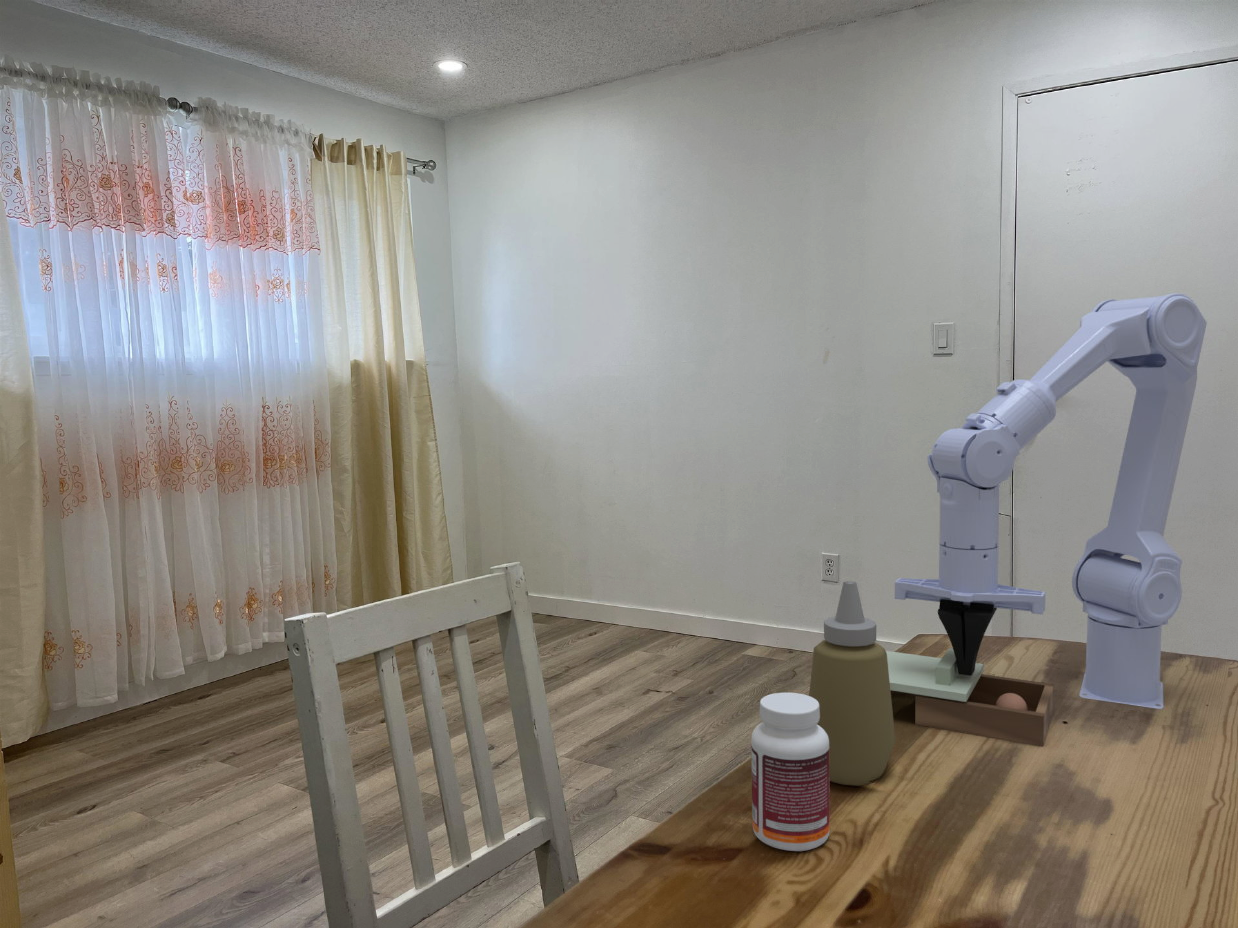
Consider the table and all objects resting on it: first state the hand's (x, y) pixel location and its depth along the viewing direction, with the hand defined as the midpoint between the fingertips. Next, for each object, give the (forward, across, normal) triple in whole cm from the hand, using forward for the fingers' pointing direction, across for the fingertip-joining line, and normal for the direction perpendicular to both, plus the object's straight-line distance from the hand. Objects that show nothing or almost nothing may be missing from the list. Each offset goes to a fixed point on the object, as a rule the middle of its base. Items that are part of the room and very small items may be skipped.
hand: (966, 672), depth 95 cm
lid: (+1, -5, 0) cm, 5 cm away
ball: (+5, +4, 0) cm, 6 cm away
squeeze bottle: (+6, -7, -18) cm, 20 cm away
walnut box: (+5, +2, 0) cm, 6 cm away
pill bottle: (+6, -8, -31) cm, 33 cm away
